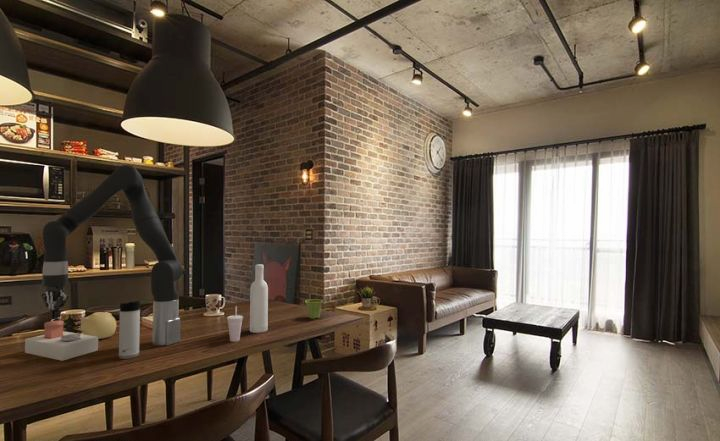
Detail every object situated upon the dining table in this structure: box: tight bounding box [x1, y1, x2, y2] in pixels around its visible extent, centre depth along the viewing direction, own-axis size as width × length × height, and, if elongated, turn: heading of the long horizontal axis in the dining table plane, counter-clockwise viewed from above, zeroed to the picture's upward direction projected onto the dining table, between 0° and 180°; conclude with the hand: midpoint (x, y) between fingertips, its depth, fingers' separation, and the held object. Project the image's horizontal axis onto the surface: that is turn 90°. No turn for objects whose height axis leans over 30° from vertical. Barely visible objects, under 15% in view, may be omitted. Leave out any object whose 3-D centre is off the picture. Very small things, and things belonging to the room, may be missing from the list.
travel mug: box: [118, 300, 141, 360], centre depth 134 cm, size 6×7×20 cm
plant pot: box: [304, 298, 324, 320], centre depth 194 cm, size 9×9×9 cm
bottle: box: [249, 263, 269, 334], centre depth 168 cm, size 8×8×30 cm
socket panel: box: [24, 330, 99, 362], centre depth 138 cm, size 22×12×5 cm, turn 69°
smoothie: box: [226, 305, 244, 342], centre depth 153 cm, size 6×6×14 cm
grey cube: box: [61, 333, 81, 342], centre depth 136 cm, size 6×6×6 cm
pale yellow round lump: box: [80, 311, 117, 340], centre depth 156 cm, size 11×12×11 cm
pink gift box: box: [44, 319, 64, 339], centre depth 140 cm, size 6×6×6 cm
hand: (54, 318), depth 140 cm, fingers closed
